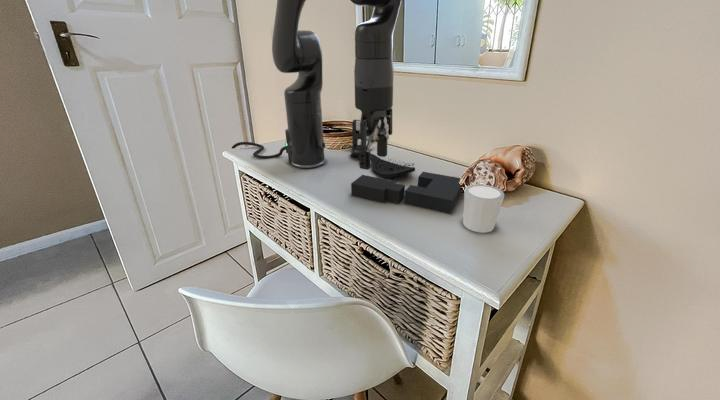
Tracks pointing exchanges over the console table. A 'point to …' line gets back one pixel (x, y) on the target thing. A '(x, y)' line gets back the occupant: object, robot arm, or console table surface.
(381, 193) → the pad
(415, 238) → the console table surface
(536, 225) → the console table surface
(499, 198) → the white cylinder
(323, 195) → the console table surface
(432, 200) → the notch pad
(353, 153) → the hairbrush
